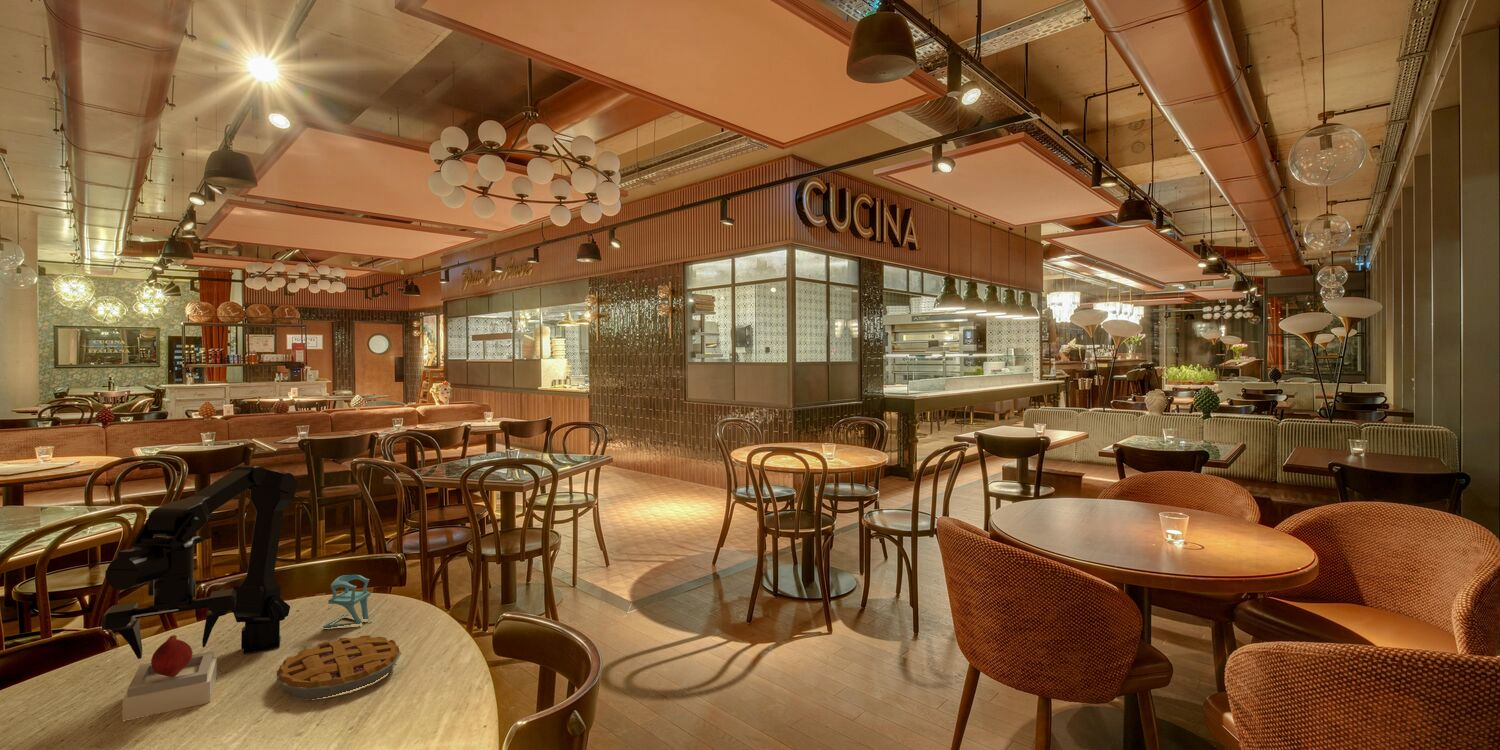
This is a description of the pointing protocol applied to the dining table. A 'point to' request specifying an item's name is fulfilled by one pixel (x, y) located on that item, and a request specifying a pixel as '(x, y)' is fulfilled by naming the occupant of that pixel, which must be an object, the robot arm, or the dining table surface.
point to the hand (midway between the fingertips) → (172, 652)
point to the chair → (349, 598)
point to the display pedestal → (170, 688)
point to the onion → (171, 657)
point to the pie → (337, 666)
